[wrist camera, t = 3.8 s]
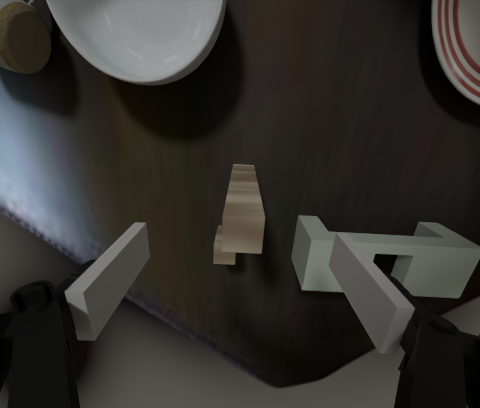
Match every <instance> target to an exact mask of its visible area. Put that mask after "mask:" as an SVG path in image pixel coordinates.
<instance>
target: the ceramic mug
mask: <svg viewBox="0 0 480 408" xmlns="http://www.w3.org/2000/svg"><path fill="white" fill-rule="evenodd" d="M44 2H45V0H30V2H29V3H25V2H24V1H23V0H0V67H2V68H4V69H7V70H10V71H14V72H18V73H23V74H33V73H36V72H38V71H40V70H41V69H42V68H43V67H44V66H45V65H46V64H47V62H48V60H49V57H50V54H51V37H50V32H49V30H48V27H47V25H46V23H45V21H44V19H43V18H42V17H41V16H40V13H41V12H42V10H43V8H44Z"/></svg>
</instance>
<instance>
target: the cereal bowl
mask: <svg viewBox="0 0 480 408" xmlns="http://www.w3.org/2000/svg"><path fill="white" fill-rule="evenodd" d="M46 1H47V4H48V6H49V8H50V11H51V13H52V15H53V17H54V19H55V21H56V22H57V24H58V26H59V27H60V29H61V31H62V32H63V34H64V35H65V36H66V38H67V39H68V40H69V42H70V43H71V44H72V45H73V47H74V48H75V49H76V50H77V51H78V52H79V53H80V54H81V55H82V56H83V57H84V58H85V59H86V60H87V61H88V62H89V63H91V64H92V65H93V66H95V67H96V68H97V69H99V70H101V71H102V72H104V73H106V74H107V75H110V76H112V77H114V78H117V79H119V80H123V81H125V82H130V83H134V84H138V85H140V84H141V85H162V84H166V83H170V82H174V81H177V80H179V79H182V78H183V77H185V76H186V75H188V74H190V73H191V72H193V71H194V70H195V69H196V68H197V67H198V66H199V65H200V64H201V63H202V62H203V61H204V60H205V59H206V57H207V56H208V54H209V53H210V52H211V49H212V48H213V46H214V44H215V43H216V40H217V38H218V35H219V33H220V30H221V27H222V23H223V19H224V15H225V9H226V2H227V0H46Z"/></svg>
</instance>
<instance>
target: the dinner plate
mask: <svg viewBox="0 0 480 408" xmlns="http://www.w3.org/2000/svg"><path fill="white" fill-rule="evenodd" d="M431 19H432V34H433V40H434V45H435V49H436V54H437V57H438V60H439V62H440V65H441V67H442V69H443V71H444V73H445V75H446V76H447V78H448V80H449V81H450V82H451V83H452V85H453V86H454V87H455V88H456V89H457V90H458V91H459V92H460V93H461V94H462V95H464V96H465V97H466V98H468V99H469V100H471V101H473V102H475V103H476V104H479V105H480V0H432V9H431Z"/></svg>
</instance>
